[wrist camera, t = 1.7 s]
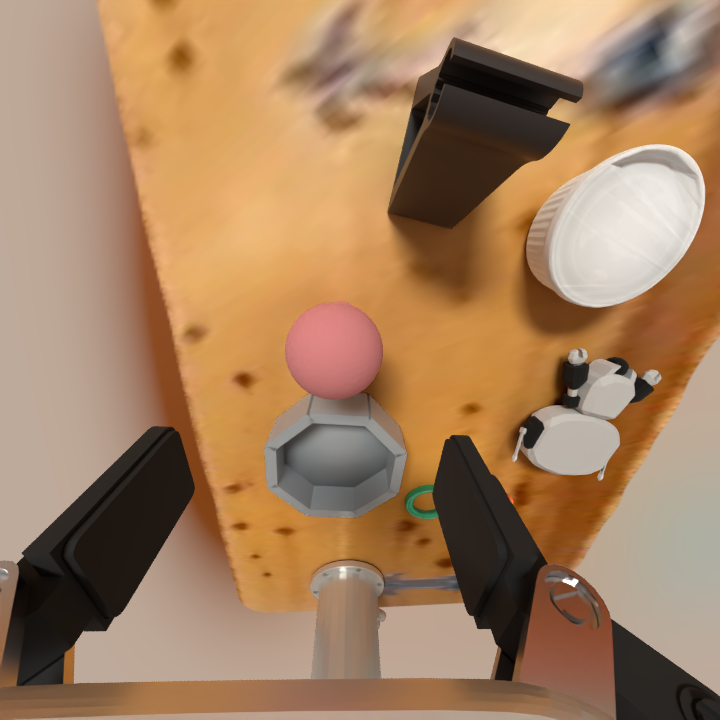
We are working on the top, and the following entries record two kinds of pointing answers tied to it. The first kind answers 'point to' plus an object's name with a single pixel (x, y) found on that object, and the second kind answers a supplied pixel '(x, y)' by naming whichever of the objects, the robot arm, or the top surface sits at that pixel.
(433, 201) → the phone stand
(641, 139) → the top surface
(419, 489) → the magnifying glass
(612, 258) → the ramekin
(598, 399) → the robot toy
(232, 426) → the top surface
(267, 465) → the ceramic bowl
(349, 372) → the light bulb
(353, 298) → the top surface
